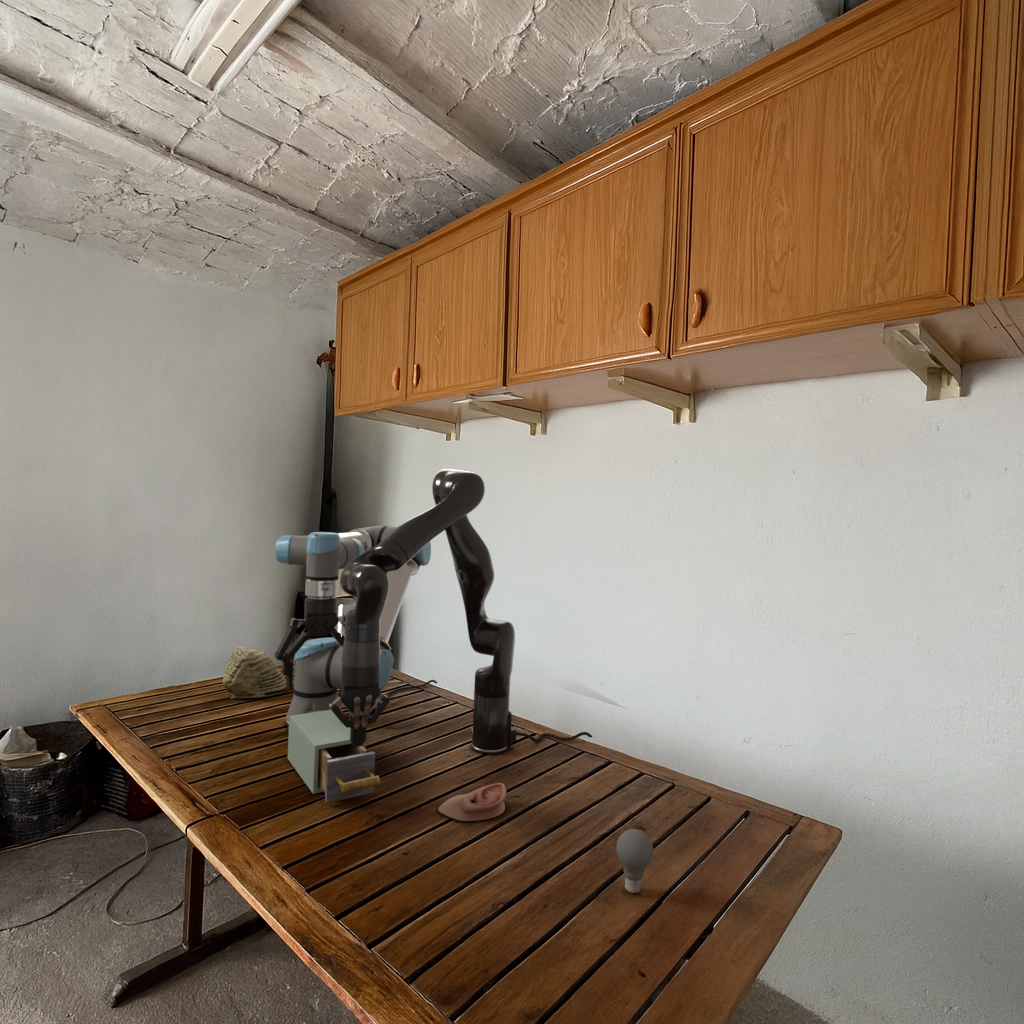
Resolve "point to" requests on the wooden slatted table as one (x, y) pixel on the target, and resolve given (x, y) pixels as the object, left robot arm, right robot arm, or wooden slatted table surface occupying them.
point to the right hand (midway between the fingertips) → (357, 745)
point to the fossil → (252, 674)
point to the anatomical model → (476, 804)
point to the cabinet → (314, 742)
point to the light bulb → (634, 857)
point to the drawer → (346, 772)
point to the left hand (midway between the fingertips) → (318, 685)
